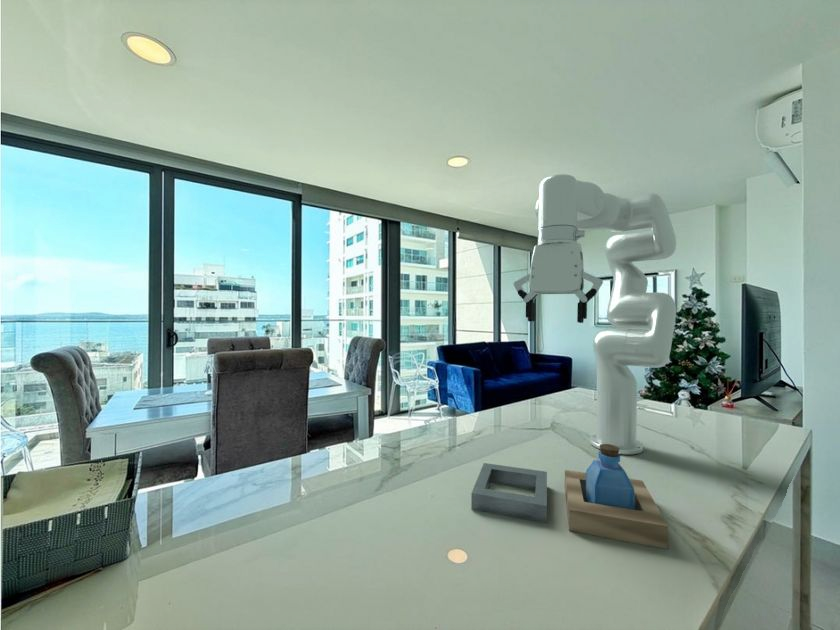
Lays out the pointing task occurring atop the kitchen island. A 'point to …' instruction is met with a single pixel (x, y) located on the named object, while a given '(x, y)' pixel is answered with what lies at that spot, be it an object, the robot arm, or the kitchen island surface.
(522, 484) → the block
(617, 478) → the perfume bottle
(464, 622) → the kitchen island surface
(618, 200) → the robot arm
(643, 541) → the tan square frame
